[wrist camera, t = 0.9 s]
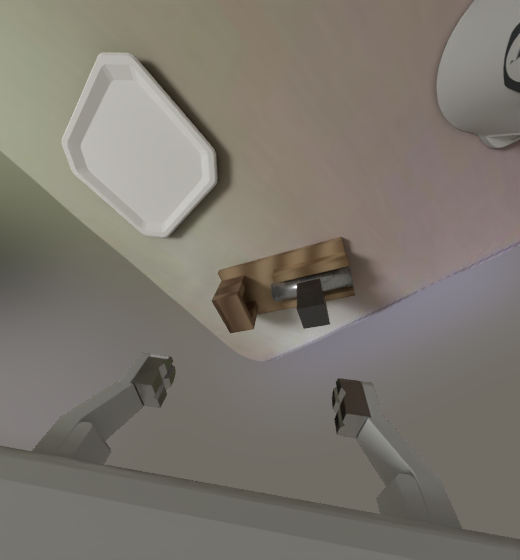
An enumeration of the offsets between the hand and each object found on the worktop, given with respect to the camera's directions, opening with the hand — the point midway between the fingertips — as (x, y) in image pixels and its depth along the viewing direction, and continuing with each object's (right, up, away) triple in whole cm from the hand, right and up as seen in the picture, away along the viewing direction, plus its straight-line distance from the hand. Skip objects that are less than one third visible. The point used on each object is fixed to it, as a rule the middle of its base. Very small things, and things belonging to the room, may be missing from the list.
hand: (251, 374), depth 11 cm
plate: (-18, +24, +26) cm, 40 cm away
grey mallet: (+10, +5, +32) cm, 33 cm away
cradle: (+5, +4, +34) cm, 35 cm away
